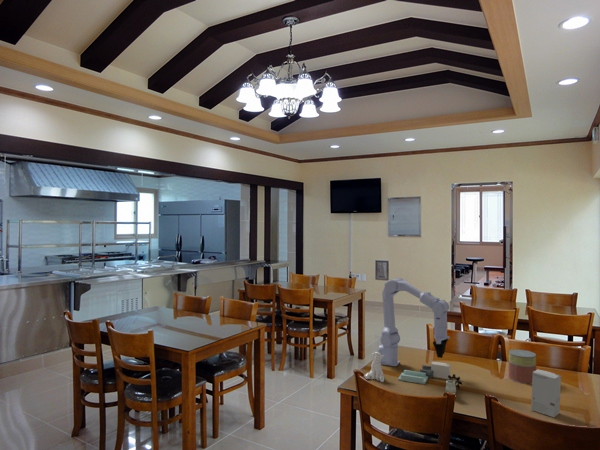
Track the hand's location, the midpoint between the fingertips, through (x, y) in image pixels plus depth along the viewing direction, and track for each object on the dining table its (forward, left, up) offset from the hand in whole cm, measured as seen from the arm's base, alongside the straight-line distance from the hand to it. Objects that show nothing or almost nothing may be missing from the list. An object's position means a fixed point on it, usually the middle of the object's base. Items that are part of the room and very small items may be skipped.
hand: (440, 355), depth 193 cm
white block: (0, 0, -10) cm, 10 cm away
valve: (+7, -19, -10) cm, 22 cm away
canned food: (+34, +13, -10) cm, 38 cm away
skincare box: (+41, -21, -10) cm, 47 cm away
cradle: (-11, -9, -10) cm, 17 cm away
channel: (-6, 0, -10) cm, 12 cm away
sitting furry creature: (-27, -15, -10) cm, 33 cm away
